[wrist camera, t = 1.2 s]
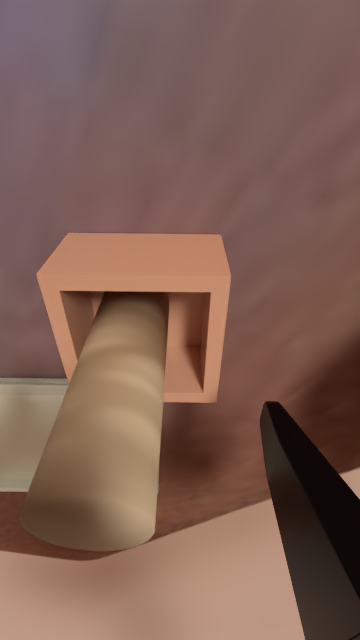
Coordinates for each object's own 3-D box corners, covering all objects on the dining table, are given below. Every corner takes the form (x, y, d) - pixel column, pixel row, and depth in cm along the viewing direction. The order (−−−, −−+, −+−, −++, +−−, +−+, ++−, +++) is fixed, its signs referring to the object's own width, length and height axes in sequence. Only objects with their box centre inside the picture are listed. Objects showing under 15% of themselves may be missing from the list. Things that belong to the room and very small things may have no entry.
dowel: (169, 274, 13) (151, 495, 6) (170, 330, 15) (157, 552, 8) (98, 274, 13) (-1, 493, 6) (107, 329, 15) (38, 549, 8)
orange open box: (220, 234, 13) (231, 276, 10) (210, 348, 17) (216, 402, 14) (68, 233, 13) (36, 274, 10) (92, 347, 17) (73, 400, 14)
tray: (153, 379, 18) (151, 396, 17) (159, 477, 25) (158, 493, 24) (-93, 376, 18) (-108, 392, 17) (-21, 475, 25) (-29, 490, 24)
